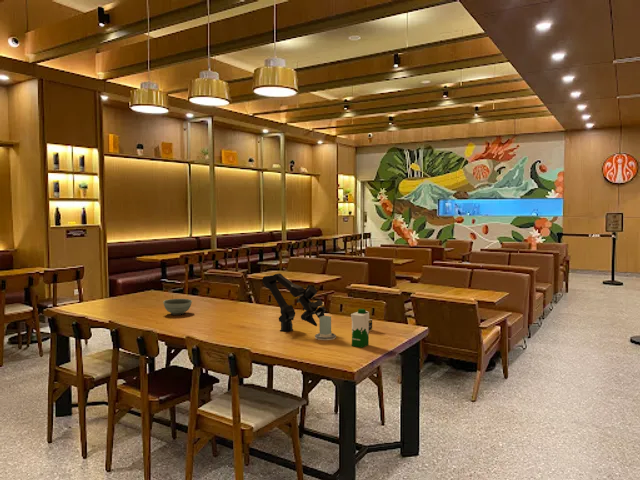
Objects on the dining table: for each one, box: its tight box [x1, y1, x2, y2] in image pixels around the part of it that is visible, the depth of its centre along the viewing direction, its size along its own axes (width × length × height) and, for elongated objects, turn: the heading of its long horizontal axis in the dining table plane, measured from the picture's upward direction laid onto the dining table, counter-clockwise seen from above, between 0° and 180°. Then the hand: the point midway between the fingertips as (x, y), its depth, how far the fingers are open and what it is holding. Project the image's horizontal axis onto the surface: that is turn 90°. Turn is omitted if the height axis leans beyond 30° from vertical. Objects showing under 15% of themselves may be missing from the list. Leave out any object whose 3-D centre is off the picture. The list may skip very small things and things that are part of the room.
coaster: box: [314, 332, 337, 341], centre depth 290 cm, size 12×12×2 cm
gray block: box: [318, 315, 332, 337], centre depth 290 cm, size 5×5×12 cm
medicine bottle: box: [365, 310, 373, 332], centre depth 307 cm, size 7×7×12 cm
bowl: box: [162, 298, 193, 316], centre depth 363 cm, size 21×21×10 cm
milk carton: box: [350, 308, 370, 348], centre depth 272 cm, size 9×9×20 cm
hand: (321, 324), depth 291 cm, fingers open, 9 cm apart
